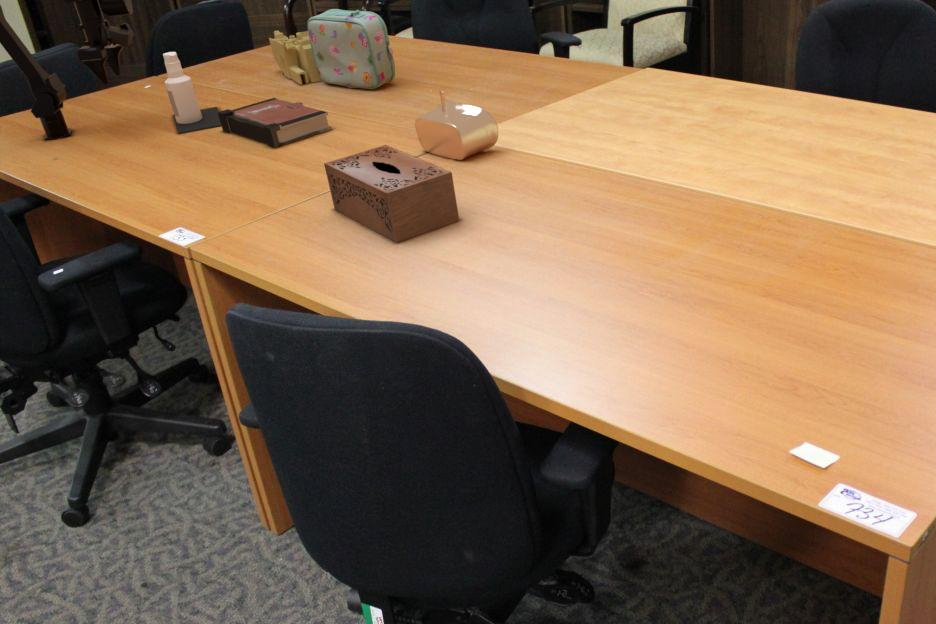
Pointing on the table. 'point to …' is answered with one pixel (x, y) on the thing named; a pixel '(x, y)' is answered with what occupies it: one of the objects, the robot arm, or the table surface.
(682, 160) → the table surface
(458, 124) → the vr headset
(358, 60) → the lunch box
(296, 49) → the beige blocky piece
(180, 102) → the spray bottle
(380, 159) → the tissue box cover
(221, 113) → the book
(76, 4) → the robot arm
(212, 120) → the pad
